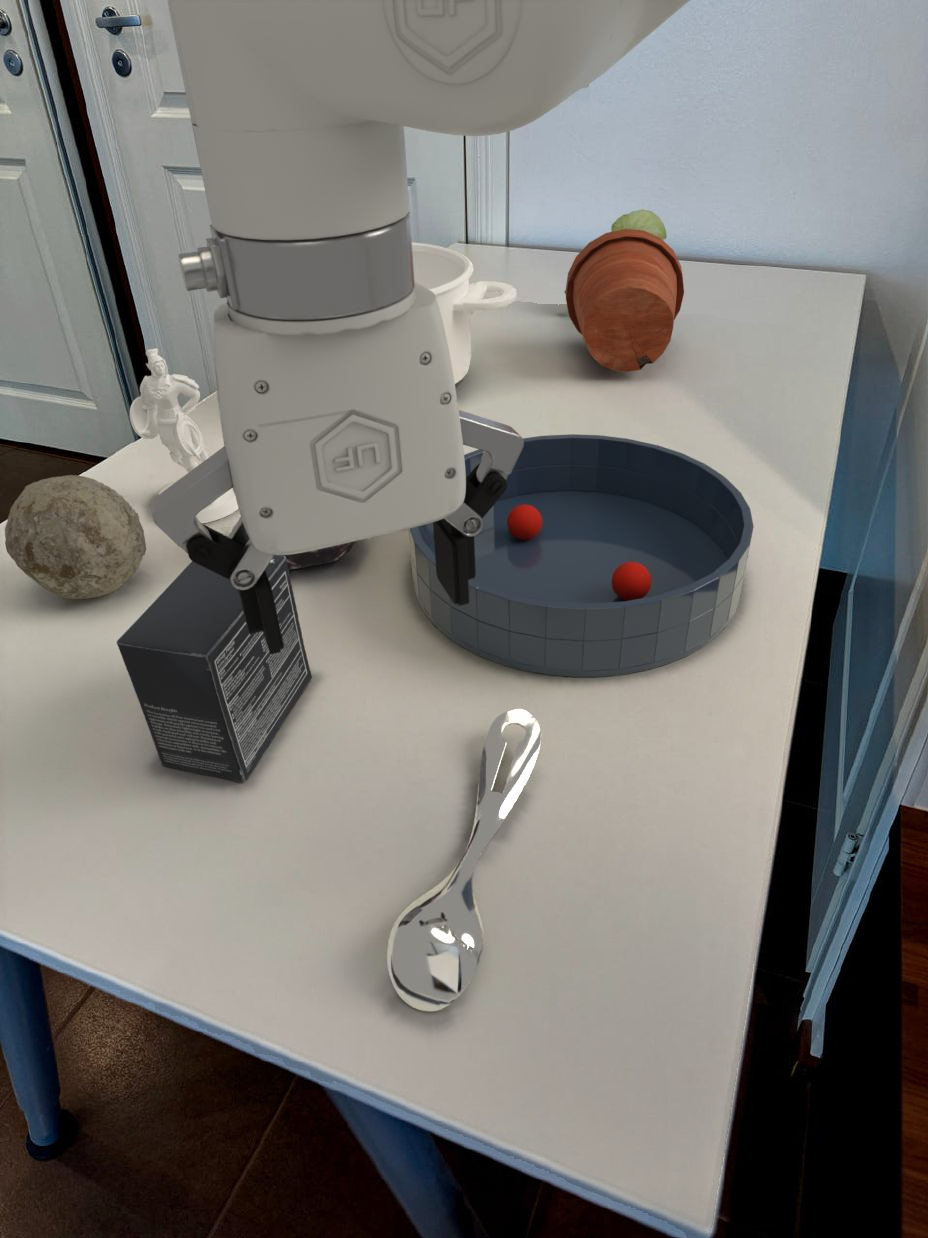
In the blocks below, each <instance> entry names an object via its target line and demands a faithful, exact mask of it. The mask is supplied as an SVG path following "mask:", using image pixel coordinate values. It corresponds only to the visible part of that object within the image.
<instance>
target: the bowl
mask: <svg viewBox="0 0 928 1238" xmlns="http://www.w3.org/2000/svg"><path fill="white" fill-rule="evenodd" d="M522 438H523V440H524V446H523V449H522V451H521V453H520V455H519V457H518V460H517V462H516V464H515V466H514V468H513V470H512V472H511V474H509V475H508V477H507V479H506V482H507V488H506V490H505V492H504V493H503V495H502V496H501V497H500V498H499V499H498V501H497V502H496V503H495V504H494V505H493V507H492V508H491V509H490V510H489V511H488V513H487V514H486V515H485V516H484V517H483V528H482V530H481V531H480V532H479V533H478V534H477V535H475V536H474V543H475V570H476V576H475V578H473V579H469V580H468V583H469V604H465V605H461V606H458V605H457V604H454V603H453V602H452V600H451V598H450V597H449V595H448V594H447V592H446V591H445V589H444V588H443V586H442V584H441V583H440V581H439V580H438V578H437V574H436V561H435V546H434V532H433V522H432V523H429V524H425V525H421V526H417V527H413V528H409V529H408V539H409V548H410V549H409V550H410V560H411V561H410V562H411V572H412V573H411V574H412V583H413V586H414V587H413V588H414V593H415V595H416V599H417V602H418V605H419V606H420V608H421V609H422V611H423V612H424V615H425V616H426V617H427V618H428V620H429V621H430V622H431V623H432V624H433V625H434V626H435V627H436V629H438V630H439V631H440V632H441V633H442V634H443V635H445V636H446V637H447V638H448V639H449V640H451V641H452V642H454V643H456V645H459V646H460V647H462V649H464V650H467V651H469V652H471V653H473V654H475V655H477V656H479V657H482V658H484V659H486V660H489V661H491V662H495V663H497V664H500V665H503V666H505V667H510V668H513V669H517V670H521V671H526V672H531V673H537V674H543V675H547V676H548V675H550V676H560V677H571V678H572V677H574V678H583V677H584V678H589V677H590V678H596V677H597V678H599V677H610V676H619V675H620V676H622V675H628V674H633V673H639V672H644V671H648V670H653V669H655V668H659V667H662V666H665V665H669V664H672V663H674V662H676V661H679V660H681V659H683V658H685V657H688V656H690V655H691V654H693V653H695V652H697V651H699V650H700V649H702V648H704V647H706V645H708V644H709V643H710V642H711V641H713V640H715V638H717V637H718V636H719V635H720V634H721V633H722V631H724V629H725V628H726V627H727V626H728V625H729V623H730V622H731V620H732V619H733V617H734V615H735V614H736V611H737V609H738V606H739V603H740V600H741V595H742V589H743V585H744V581H745V575H746V570H747V564H748V559H749V553H750V549H751V544H752V543H751V542H752V538H753V533H754V522H753V515H752V511H751V507H750V506H749V504H748V502H747V500H746V499H745V497H744V495H743V494H742V492H741V491H740V490H739V489H738V488H737V487H736V486H735V485H734V484H733V483H732V482H731V481H730V479H728V478H727V477H726V476H724V475H723V474H721V473H720V472H718V471H717V470H715V469H713V468H712V467H711V466H709V465H707V463H704V462H702V461H700V460H697V459H696V458H693V457H691V456H689V455H687V454H685V453H683V452H680V451H677V450H673V449H670V448H668V447H664V446H662V445H659V444H654V443H650V442H644V441H640V440H635V439H630V438H626V437H625V438H624V437H618V436H617V437H616V436H610V435H600V434H573V433H571V434H550V435H549V434H547V435H538V436H529V437H522ZM483 452H484V451H483V450H480V449H476V450H473V451H470V452H467V453H464V459H465V471H466V478H467V476H468V475H469V474H470V473H471V472H472V470H473V469H474V468H475V467H476V466H477V465H478V464H480V463H481V461H482V459H481V457H482V455H483ZM448 475H449V473H448ZM524 504H526V505H531V506H533V507H535V508H536V509H537V510H538V511H539V513H540V514H541V517H542V527H541V530H540V532H539V533H538V534H537V535H536V536H535V537H533V538H531V539H528V540H521V539H518V538H516V537H514V536H513V535H512V534H511V533H510V531H509V529H508V526H507V518H508V515H509V513H510V512H511V511H512V509H514V508H515V507H517V506H519V505H524ZM627 562H636V563H639V564H641V565H643V566H644V567H645V568H647V570H648V571H649V573H650V575H651V587H650V590H649V592H648V593H647V594H646V595H645V596H644V597H643V598H641V599H635V600H629V601H626V600H623V599H621V598H620V597H619V596H617V595H616V593H615V592H614V590H613V588H612V576H613V573H614V572H615V570H616V569H617V568H618V567H619V566H620V565H622V564H624V563H627Z"/></svg>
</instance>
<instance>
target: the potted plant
mask: <svg viewBox="0 0 928 1238" xmlns="http://www.w3.org/2000/svg"><path fill="white" fill-rule="evenodd" d="M610 230H611V231H609V232H605V233H603V234H602V235H600V236H598V237H596V238H595V239H593V240H591V241H589V242H588V243H587V244H586V245H585V246H584V247H583V248H582V249H581V251H580V252H579V253H578V254H577V255H576V256H575V257H574V260H573V262H572V263H571V266H570V268H569V270H568V272H567V278H566V283H565V284H566V285H565V290H564V292H563V293H564V294H565V302H566V309H567V312H568V317H569V319H570V321H571V323H572V324H573V325H574V328H575V329H576V331H577V332H578V333H579V334H580V335H581V336H582V338H583V341H584V344H585V347H586V349H587V351H588V352H589V354H590V356H591V357H592V358H593V359H594V361H596V362H597V363H598V364H599V365H600V366H602V367H605V368H607V369H609V370H612V371H616V372H625V373H628V372H635V371H641V370H642V369H643V368H644V367H645V366H646V365H648V364H651V365H652V364H654V363H655V362H656V361H658V359H659V358H660V357H661V356H663V354H664V352H665V351H666V350H667V348H668V347H669V344H670V342H671V340H672V335H673V331H674V326H675V325H674V323H675V319H677V316H678V314H679V313H680V311H681V309H682V304H683V299H684V295H685V288H684V276H683V269H682V265H681V263H680V261H679V258H678V257H677V255H676V253H675V251H674V249H673V248H672V247H671V246H670V245H669V244H668V243H667V242H666V241H665V240H666V239H667V231H666V227H665V224H664V222H663V221H662V219H661V218H660V217H659V215H657V214H656V213H654V212H653V211H652V210H647V209H643V208H641V209H639V210H633V211H631V212H629V213H625V214H622V215H621V216H620V217H618V218H617V219H616V220H615V221H614V222H613V223H612V224H611V229H610Z"/></svg>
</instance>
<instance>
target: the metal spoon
mask: <svg viewBox="0 0 928 1238" xmlns="http://www.w3.org/2000/svg"><path fill="white" fill-rule="evenodd" d="M511 726H519V727H521V728H522V729H523V730H524V732H525V736H524V738H523V739H522V740H520V741H519V742H517V745H516V747H515V751H514V755H513V757H512V761H511V764H510V767H509V771H508V774H507V778H506V781H505V784H504V787H503V790H502V792H497V791H494V786H495V784H496V780H497V777H498V774H499V770H500V767H501V765H502V761H503V758H504V755H505V752H506V749H507V746H508V741H506V740H505V739H504V737H503V733H504V730H505V729H506V728H508V727H511ZM541 743H542V729H541V724H540V723H539V721H538V720H537V719H536V717H535V716H533V715H532V713H530V712H529V711H527V710H525V709H523V708H515V709H512V710H509V711H506V712H503V713H501V714H500V715H498V716H497V717H496V718H495V719H494V720H493V722H492V723H491V725H490V727H489V729H488V731H487V733H486V736H485V739H484V744H483V748H482V753H481V760H480V767H479V776H478V785H477V795H476V806H475V813H474V814H475V815H474V820H473V825H472V830H471V834H470V836H469V837H470V838H469V840H468V844H467V846H466V849H465V851H464V853H463V855H462V857H461V859H460V860H459V862H458V863H457V865H456V866H455V868H453V870H452V871H451V872H450V873H448V875H447V876H446V877H445V878H444V879H443V880H441V882H439V883H438V884H436V885H435V886H434V887H432V888H431V889H429V890H428V891H426V892H425V893H424V894H422V895H420V896H419V897H418V898H416V899H415V900H413V902H411V903H410V904H409V905H407V907H406V908H405V909H404V910H403V911H401V913H400V915H399V916H398V917H397V919H396V920H395V921H394V924H393V926H392V929H391V930H390V934H389V937H388V941H387V947H386V964H387V972H388V975H389V978H390V981H391V983H392V986H393V989H394V990H395V992H396V994H397V995H398V996H399V998H400V999H402V1001H404V1002H405V1003H406V1004H407V1005H409V1006H410V1007H411V1008H414V1009H416V1010H419V1011H422V1012H437V1011H441V1010H443V1009H445V1008H446V1007H448V1006H450V1005H451V1004H452V1003H454V1002H456V1000H458V998H459V997H460V996H461V995H462V993H463V992H464V991H465V990H466V988H467V987H468V985H469V984H470V982H471V981H472V979H473V977H474V975H475V973H476V972H477V971H476V970H477V968H478V966H479V963H480V960H481V957H482V953H483V950H484V942H485V941H484V940H485V939H484V936H485V935H484V925H483V921H482V918H481V917H482V916H481V914H480V913H481V912H480V911H479V907H478V903H477V901H476V897H475V894H474V889H473V878H474V872H475V868H476V865H477V863H478V861H479V859H480V856H482V853H483V852H484V850H485V849H486V847H487V846H488V844H489V842H490V841H491V839H492V838H493V837H494V836H495V834H496V833H497V831H499V828H501V826H502V825H503V823H504V821H505V820H506V818H507V817H508V815H509V814H510V812H511V811H512V810H513V807H514V806H515V804H516V803H517V801H518V800H519V797H520V796H521V794H522V792H523V790H524V788H525V786H526V785H527V782H528V780H529V778H530V776H531V774H532V771H533V769H534V767H535V764H536V760H537V758H538V754H539V753H540V748H541Z"/></svg>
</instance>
